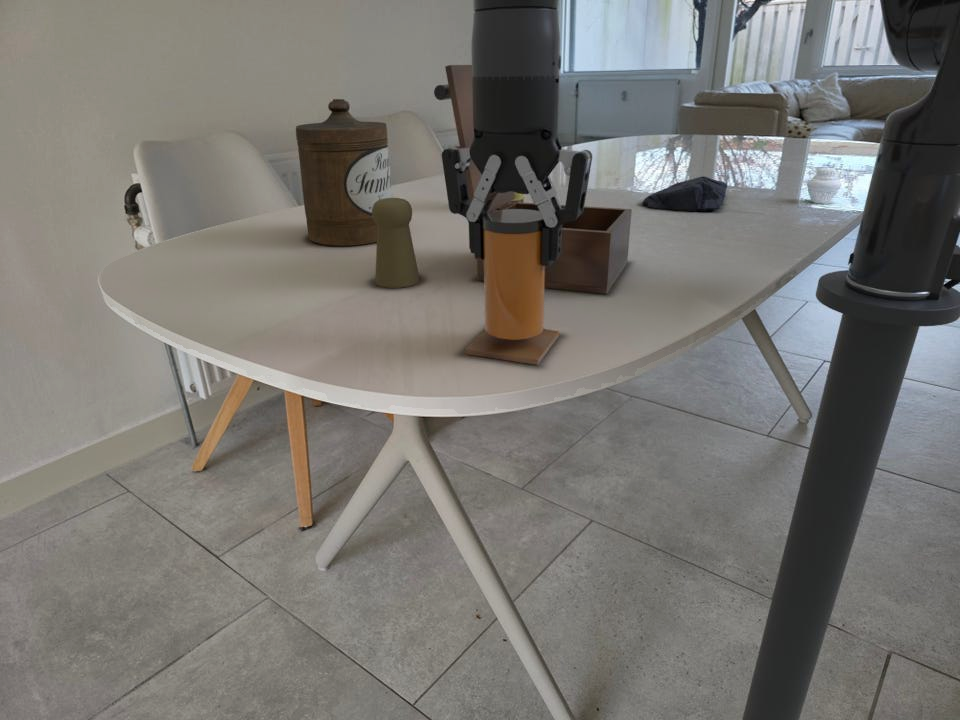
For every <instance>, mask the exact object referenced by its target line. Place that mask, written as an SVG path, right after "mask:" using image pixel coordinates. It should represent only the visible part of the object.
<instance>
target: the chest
mask: <svg viewBox="0 0 960 720" xmlns="http://www.w3.org/2000/svg"><path fill="white" fill-rule="evenodd" d="M560 205H561V208H564V207H565V205H566V204H560ZM505 209H527V210H535V211H539V209H538V207H537V206H536V205H535V204H534V202H524V203H521V202H512V203H511V204H509V205H507V206H506V207H504V208H502V209H499V210H505ZM632 210H633V209H632V208H621V207H620V208H619V207H603V206H602V207H601V206H588V205H587V206H586V205H584V211H583V214H582V215H581V216H579V217H578V218H577V219H576V220H575V221H573V222H567V223H564V224H563V225H562V241H561V242H562V243H561V254H560V256H559V257H558V258H557V259H556V260H555V261H554V263H553V264H552V265H551V266H545V289H554V290H556V289H557V290H563V291H573V292H581V293H590V294H600V295H608V292H609V291H610V290H611V288H612V286H613V285H614V284H615V282H616V281H617V279H618V278H619V276H620V275H621V273H622V272H623V270H624V268H625V267H626V265H627V264H628V260H629V259H628V257H629V246H630V235H631V234H630V233H631V223H632ZM476 279H477V281H478V282H479V281H481V282H484V259H483V260H479V259H476Z"/></svg>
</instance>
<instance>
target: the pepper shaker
mask: <svg viewBox="0 0 960 720" xmlns="http://www.w3.org/2000/svg"><path fill="white" fill-rule="evenodd" d="M372 217H373V220H374V222H375V223H376V224H377V225H378V227H377V242H376V251H375V252H376V254H375V255H376V256H375V276H374V277H375V279H374V283H375V285H377V286H379V287H381V288H388V289H401V288H408V287H412V286H414V285H417V284H418V283H419V282H420V275H419V274H420V273H419V269H418V263H417V259H416V258H417V257H416V254H415V248H414V244H413V239H412V233H411V228H410V223H411V221H412V218H413V208H412V204H411V203H410V202H409V201H408V200H407V199H406V198H405V199H404V198H400V197H393V198H385V199H381V200H378V201H376V202H375V203H374V205H373V208H372Z"/></svg>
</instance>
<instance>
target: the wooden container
mask: <svg viewBox="0 0 960 720" xmlns="http://www.w3.org/2000/svg"><path fill="white" fill-rule="evenodd" d="M327 108H328V110H329V111H330V112H331V113H330V114H329V116H328V117H327V118H326V119H325V120H324V121H322V122H313V123H312V122H311V123H304V124H298V125H295V138H296V143H297V148H298V149H297V153H298V159H299V168H300V178H301V189H302V190H301V191H302V199H303V205H304V214H305V219H306V220H305V221H306V228H307V235H308V239H309V240H310V241H311V242H313V243H315V244H319V245H324V246H332V247H351V246H362V245H369V244H374V243H377V227H378V225H377V224H376V223H375V222H374V220H373V217H372V208H373V205H374V203H375V202H376V201H378V200H381V199H385V198H394V197H393V186H392V173H391V163H390V154H389V153H390V152H389V145H388V144H389V143H388V142H389V140H388V137H389V136H388V128H387V123H385V122H381V121H361V120H358V119H356V118H355V117H354V116H353V115H352V114H351V113H350V112H349V111H350V108H351V107H350V102H349V101H347V100H345V99H344V98H333V99H332V101H330V102H329V103H328V105H327Z"/></svg>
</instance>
